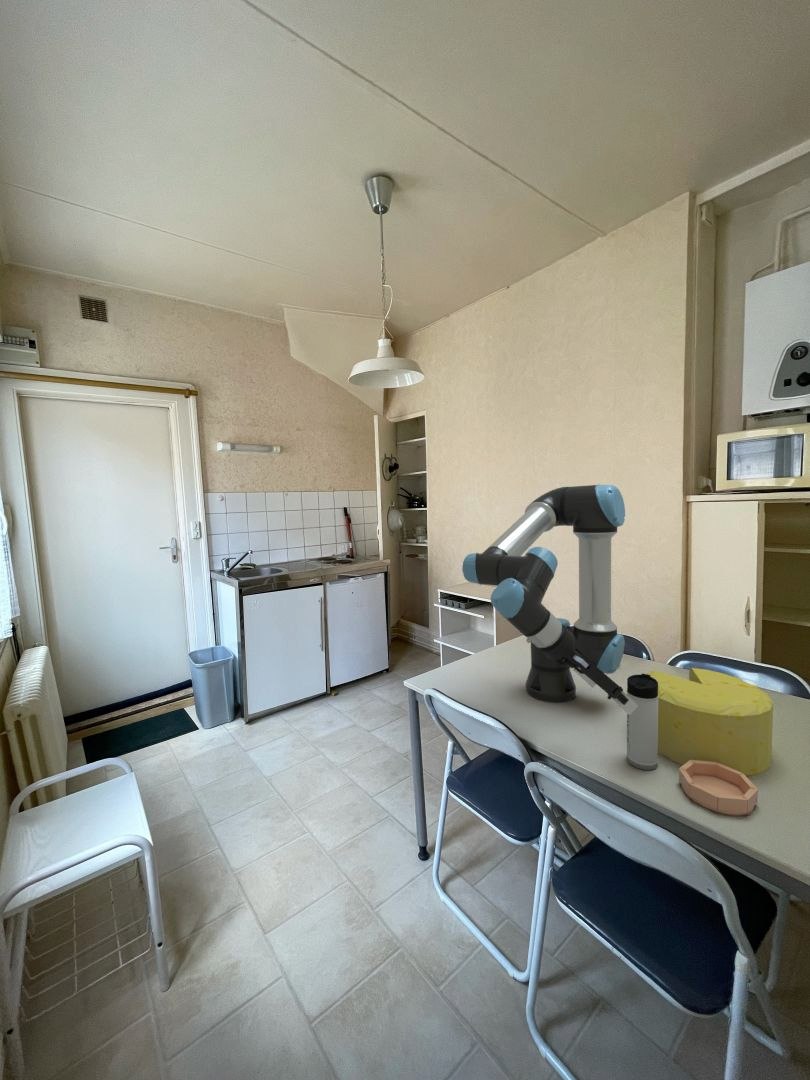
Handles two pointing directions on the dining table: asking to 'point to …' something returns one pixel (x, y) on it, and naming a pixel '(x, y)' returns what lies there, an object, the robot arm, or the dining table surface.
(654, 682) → the travel mug
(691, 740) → the cheese
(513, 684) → the dining table surface
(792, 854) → the dining table surface
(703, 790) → the bowl
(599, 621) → the robot arm
